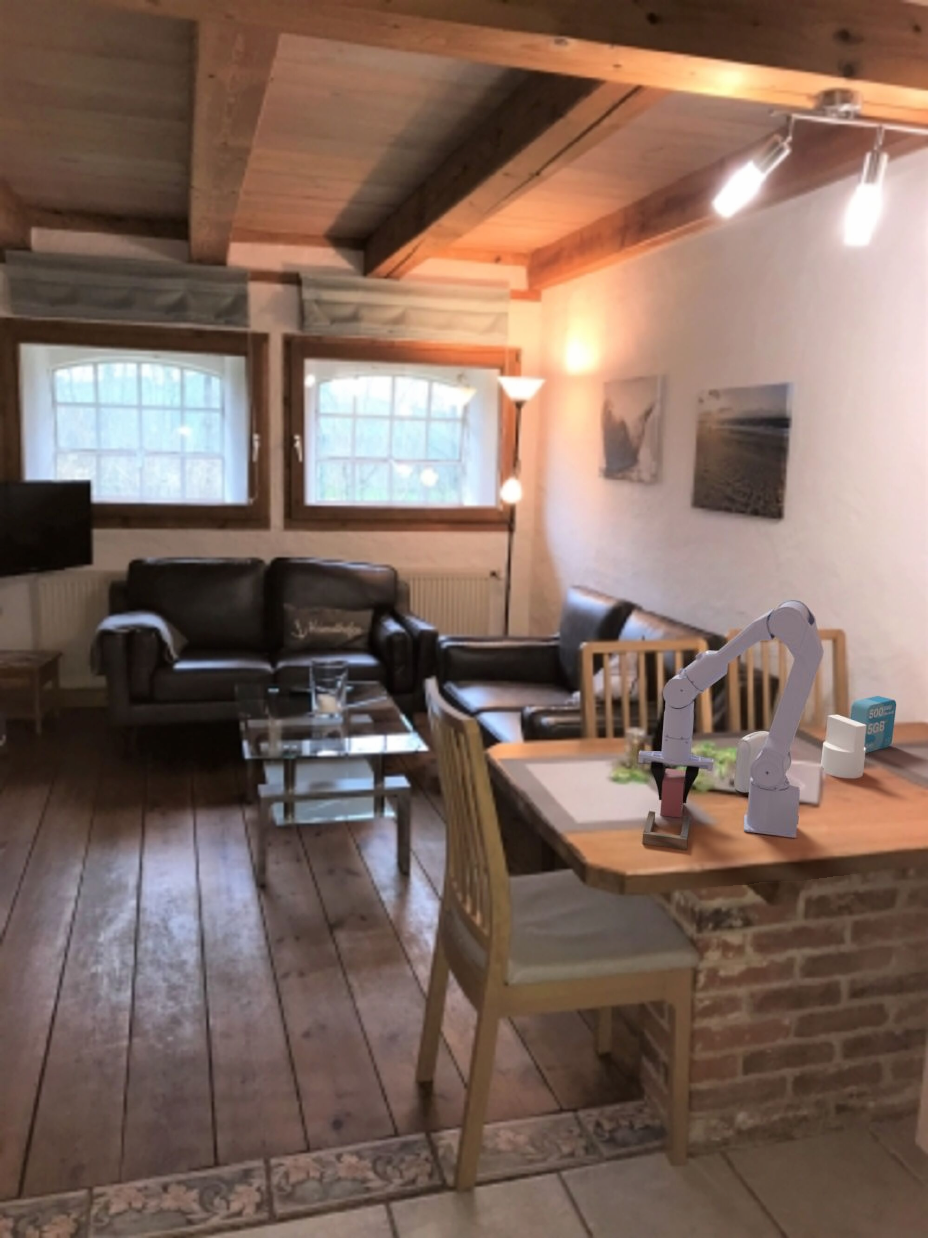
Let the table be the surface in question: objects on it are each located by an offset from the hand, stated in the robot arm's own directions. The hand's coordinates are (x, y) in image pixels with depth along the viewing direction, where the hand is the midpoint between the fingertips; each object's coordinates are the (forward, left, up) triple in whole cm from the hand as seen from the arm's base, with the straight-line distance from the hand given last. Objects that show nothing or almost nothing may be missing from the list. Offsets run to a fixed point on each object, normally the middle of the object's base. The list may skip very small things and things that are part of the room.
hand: (672, 800), depth 201 cm
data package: (-43, -58, -2) cm, 72 cm away
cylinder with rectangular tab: (-35, -37, -2) cm, 51 cm away
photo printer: (-16, -19, -2) cm, 25 cm away
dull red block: (0, 0, -2) cm, 2 cm away
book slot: (0, +13, -2) cm, 13 cm away
